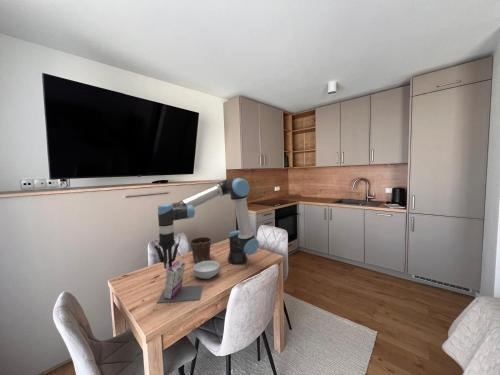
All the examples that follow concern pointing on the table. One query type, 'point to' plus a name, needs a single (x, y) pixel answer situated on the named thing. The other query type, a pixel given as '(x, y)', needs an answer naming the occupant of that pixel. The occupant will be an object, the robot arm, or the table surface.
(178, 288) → the candy bar box
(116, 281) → the table surface
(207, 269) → the cereal bowl
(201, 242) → the plant pot
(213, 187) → the robot arm
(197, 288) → the mat
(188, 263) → the table surface
